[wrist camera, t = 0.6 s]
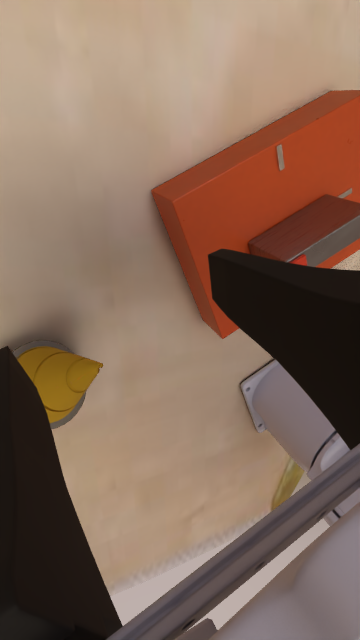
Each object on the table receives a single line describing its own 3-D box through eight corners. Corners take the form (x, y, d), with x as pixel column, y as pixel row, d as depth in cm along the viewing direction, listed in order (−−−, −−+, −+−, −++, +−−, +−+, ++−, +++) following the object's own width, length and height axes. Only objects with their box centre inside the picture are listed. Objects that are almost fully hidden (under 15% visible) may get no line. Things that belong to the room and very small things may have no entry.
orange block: (331, 90, 23) (373, 89, 20) (336, 234, 30) (368, 245, 27) (150, 190, 20) (173, 202, 18) (202, 319, 27) (223, 340, 25)
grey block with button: (326, 193, 23) (377, 207, 20) (327, 215, 24) (376, 231, 21) (247, 242, 22) (288, 263, 19) (252, 262, 23) (292, 286, 20)
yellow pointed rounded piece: (-37, 370, 21) (27, 330, 14) (42, 342, 25) (121, 300, 18) (-2, 450, 21) (77, 446, 15) (71, 409, 25) (160, 392, 19)
